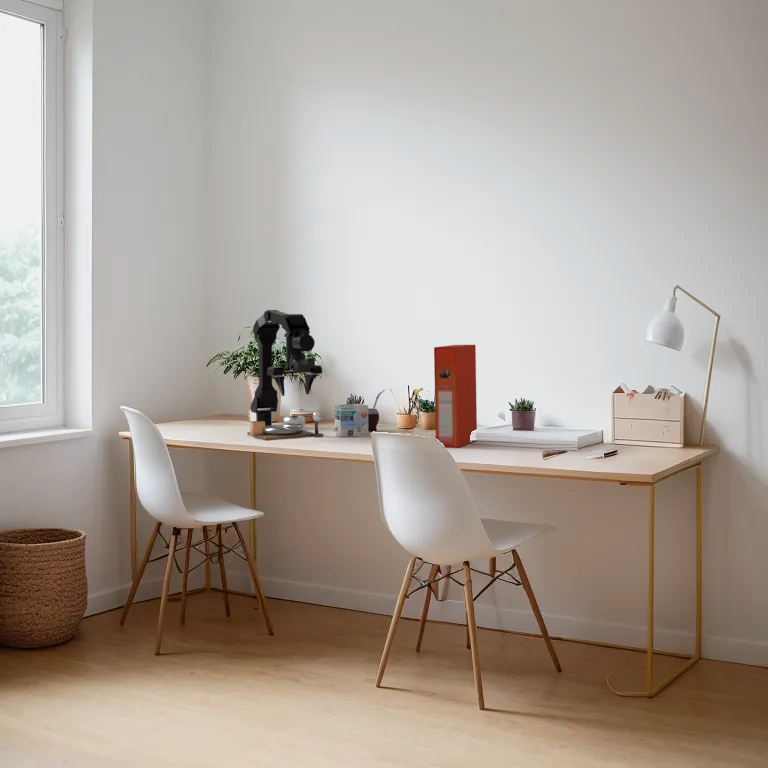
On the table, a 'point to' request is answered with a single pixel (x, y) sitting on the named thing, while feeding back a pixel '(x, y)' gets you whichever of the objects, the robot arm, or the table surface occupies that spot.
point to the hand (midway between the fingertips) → (295, 395)
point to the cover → (293, 421)
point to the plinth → (272, 437)
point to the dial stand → (316, 423)
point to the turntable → (272, 429)
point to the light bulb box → (351, 420)
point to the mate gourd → (373, 417)
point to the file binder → (455, 394)
